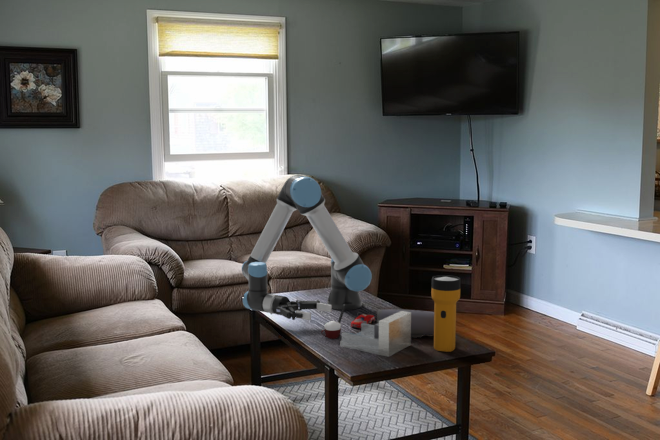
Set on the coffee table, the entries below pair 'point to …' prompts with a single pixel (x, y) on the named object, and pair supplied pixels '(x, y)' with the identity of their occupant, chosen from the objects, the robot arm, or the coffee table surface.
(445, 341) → the flashlight
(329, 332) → the cocoa
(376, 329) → the tall grey box
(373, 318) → the race car
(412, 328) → the bluetooth speaker
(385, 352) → the labeled panel enclosure
